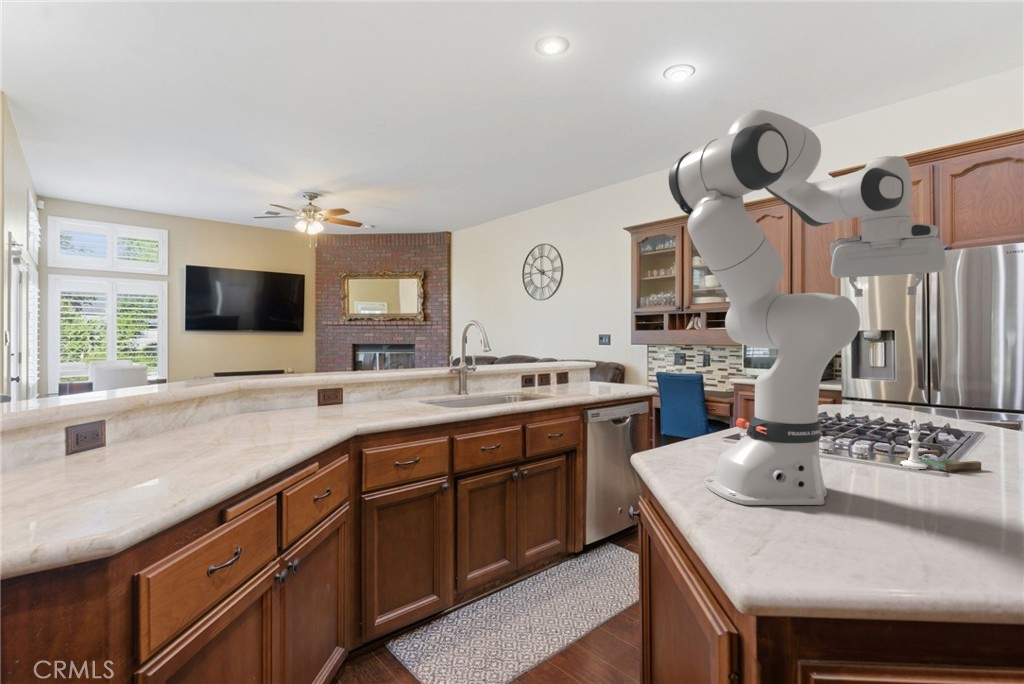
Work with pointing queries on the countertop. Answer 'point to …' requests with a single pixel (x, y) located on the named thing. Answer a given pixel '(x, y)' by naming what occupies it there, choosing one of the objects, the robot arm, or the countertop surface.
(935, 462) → the cradle
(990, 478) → the countertop surface
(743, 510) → the countertop surface
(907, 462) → the chess piece
